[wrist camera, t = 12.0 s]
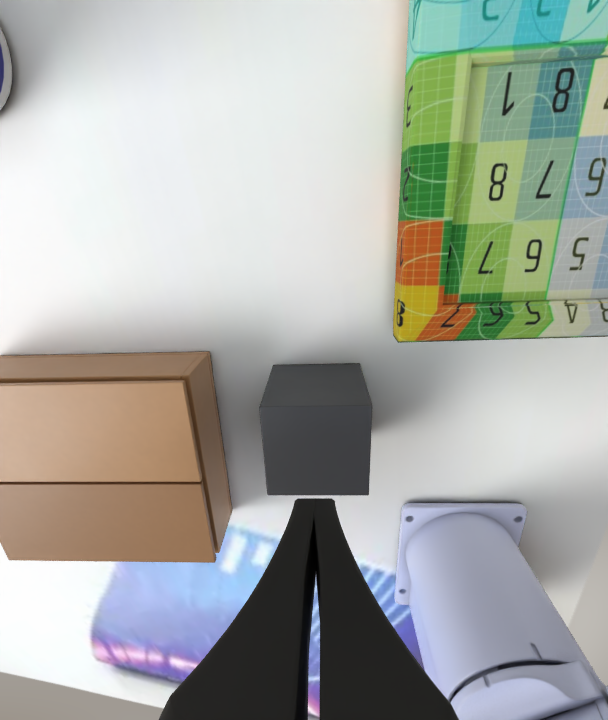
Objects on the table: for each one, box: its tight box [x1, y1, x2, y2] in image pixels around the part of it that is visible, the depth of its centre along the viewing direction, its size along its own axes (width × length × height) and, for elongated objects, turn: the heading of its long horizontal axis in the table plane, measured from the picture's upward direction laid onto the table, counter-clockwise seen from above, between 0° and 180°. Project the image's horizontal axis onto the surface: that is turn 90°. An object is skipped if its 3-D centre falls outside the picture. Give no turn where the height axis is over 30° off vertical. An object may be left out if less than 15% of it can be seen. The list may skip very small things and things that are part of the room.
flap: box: [0, 481, 216, 562], centre depth 20 cm, size 6×13×1 cm, turn 92°
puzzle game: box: [393, 0, 608, 342], centre depth 13 cm, size 12×5×20 cm
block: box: [259, 364, 372, 495], centre depth 18 cm, size 5×5×5 cm
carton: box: [0, 352, 232, 553], centre depth 20 cm, size 12×13×4 cm
